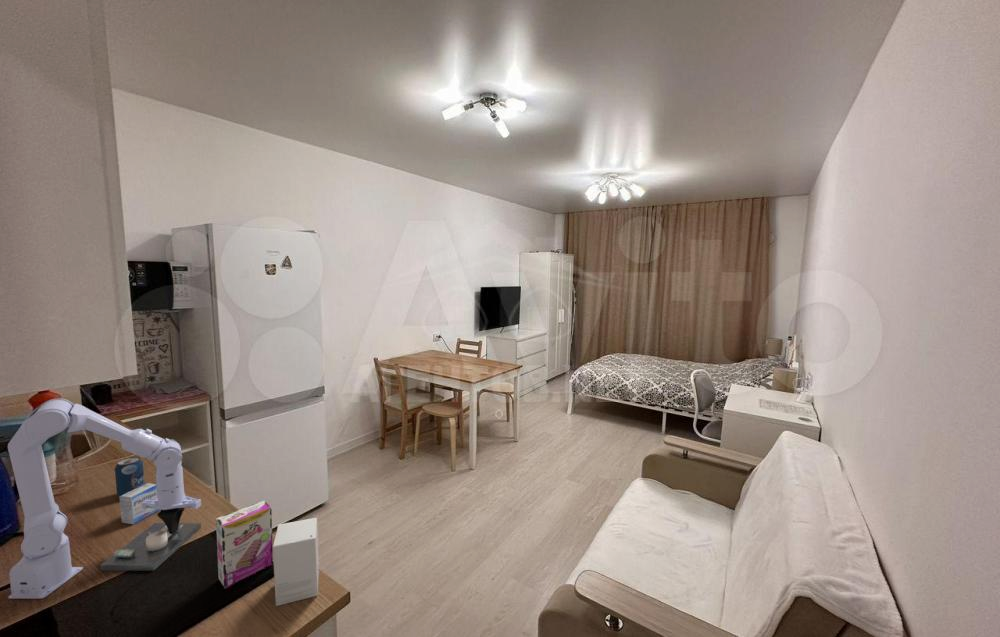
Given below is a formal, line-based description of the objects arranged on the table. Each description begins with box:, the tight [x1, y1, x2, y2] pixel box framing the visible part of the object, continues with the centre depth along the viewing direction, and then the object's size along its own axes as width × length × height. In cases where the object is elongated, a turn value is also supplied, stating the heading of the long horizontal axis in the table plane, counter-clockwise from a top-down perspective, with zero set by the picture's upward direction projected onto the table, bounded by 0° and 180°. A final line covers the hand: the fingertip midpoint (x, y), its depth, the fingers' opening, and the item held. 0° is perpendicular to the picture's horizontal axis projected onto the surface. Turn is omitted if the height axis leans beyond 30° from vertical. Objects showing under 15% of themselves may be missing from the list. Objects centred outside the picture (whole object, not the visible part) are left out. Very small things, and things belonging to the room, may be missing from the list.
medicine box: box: [118, 482, 161, 525], centre depth 124 cm, size 8×4×9 cm, turn 168°
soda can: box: [114, 455, 146, 498], centre depth 135 cm, size 7×7×12 cm
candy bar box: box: [215, 500, 274, 590], centre depth 102 cm, size 11×5×16 cm, turn 141°
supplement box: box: [272, 517, 320, 607], centre depth 98 cm, size 9×9×15 cm
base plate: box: [99, 522, 202, 572], centre depth 111 cm, size 17×13×3 cm
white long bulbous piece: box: [146, 521, 180, 551], centre depth 112 cm, size 9×4×3 cm, turn 2°
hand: (173, 531), depth 113 cm, fingers closed
